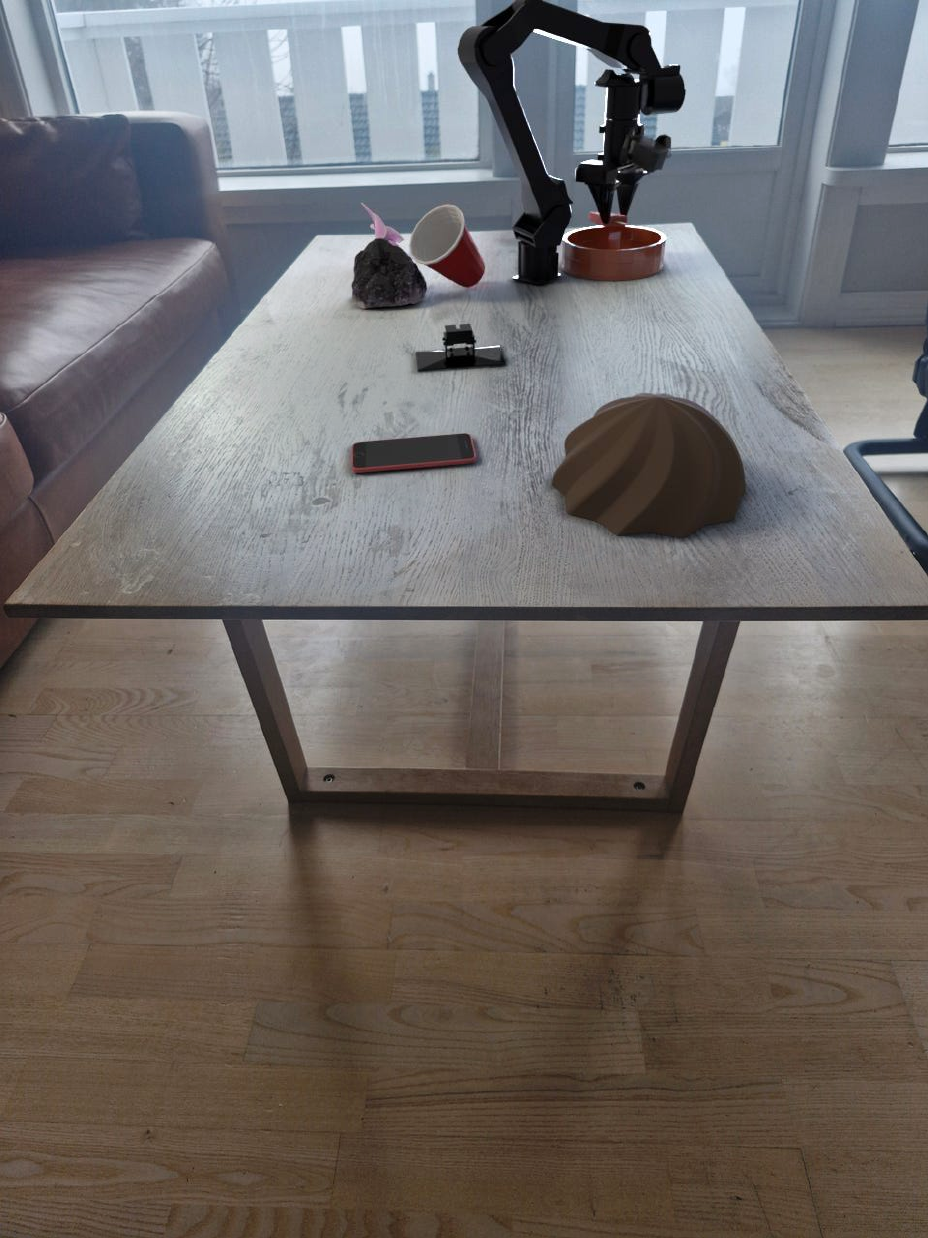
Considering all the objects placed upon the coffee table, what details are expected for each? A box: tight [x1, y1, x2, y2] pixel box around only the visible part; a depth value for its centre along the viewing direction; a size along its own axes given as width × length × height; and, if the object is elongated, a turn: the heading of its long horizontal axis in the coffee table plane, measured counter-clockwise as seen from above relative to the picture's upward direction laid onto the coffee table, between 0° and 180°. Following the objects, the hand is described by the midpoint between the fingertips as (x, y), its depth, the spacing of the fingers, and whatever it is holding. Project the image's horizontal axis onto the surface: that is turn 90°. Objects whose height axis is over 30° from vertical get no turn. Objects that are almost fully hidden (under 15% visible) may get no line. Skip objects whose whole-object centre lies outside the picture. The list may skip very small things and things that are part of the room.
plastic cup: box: [408, 203, 486, 289], centre depth 135 cm, size 11×11×12 cm
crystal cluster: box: [351, 237, 428, 310], centre depth 135 cm, size 13×14×10 cm
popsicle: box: [588, 211, 628, 227], centre depth 143 cm, size 4×2×15 cm
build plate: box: [415, 323, 507, 373], centre depth 112 cm, size 12×7×5 cm, turn 95°
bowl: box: [561, 225, 667, 282], centre depth 146 cm, size 18×18×5 cm
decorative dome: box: [551, 392, 747, 538], centre depth 80 cm, size 19×20×10 cm
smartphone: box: [350, 432, 477, 474], centre depth 90 cm, size 7×1×14 cm
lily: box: [360, 202, 405, 248], centre depth 156 cm, size 12×12×10 cm
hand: (614, 219), depth 142 cm, fingers closed on popsicle, 6 cm apart
